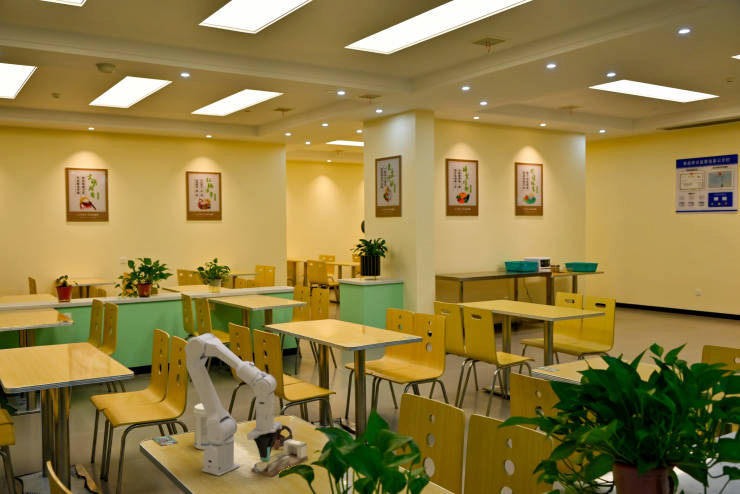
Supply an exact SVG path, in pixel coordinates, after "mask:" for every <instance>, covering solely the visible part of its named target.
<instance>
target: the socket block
mask: <svg viewBox="0 0 740 494" xmlns="http://www.w3.org/2000/svg"><path fill="white" fill-rule="evenodd" d="M307 444H308V443H307V442H304V441H299V440H296V439H292V440H291V439H289V440H286V441H284V446H283V453H284V454H285V455H290V454H292V453H294V454H297V458H300V459H302V458H304V457H306V456H307V453H308V451H307V450H308V449H307V448H308V447H307Z"/></svg>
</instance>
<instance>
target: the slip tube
mask: <svg viewBox="0 0 740 494" xmlns="http://www.w3.org/2000/svg"><path fill="white" fill-rule="evenodd" d="M284 457H286V456H285V454H284V451H280V452H278V453H276V454H273V455H271V454H270V446H268V447H267V456H266V458H262V457H260V456H259V460H260V461H258V462H256V463H254V464H253V468H254V469H255V471H256V472H257V473H256V474H258V473H260V472H262V471H264V470H266V469H268V465H269V464H271V463H273V462H276V461H278V460H280V459H282V458H284Z"/></svg>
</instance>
